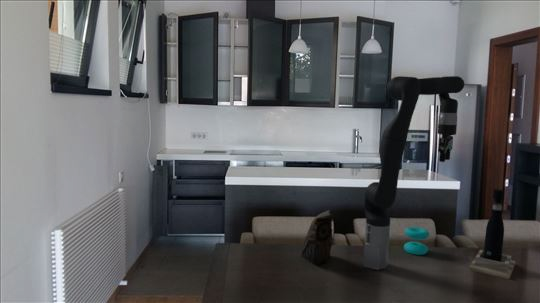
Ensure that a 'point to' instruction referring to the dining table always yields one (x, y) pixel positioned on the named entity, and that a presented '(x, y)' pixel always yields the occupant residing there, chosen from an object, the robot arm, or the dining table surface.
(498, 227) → the wine bottle
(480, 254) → the bottle stand
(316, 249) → the owl
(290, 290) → the dining table surface
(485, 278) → the dining table surface
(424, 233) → the donuts
